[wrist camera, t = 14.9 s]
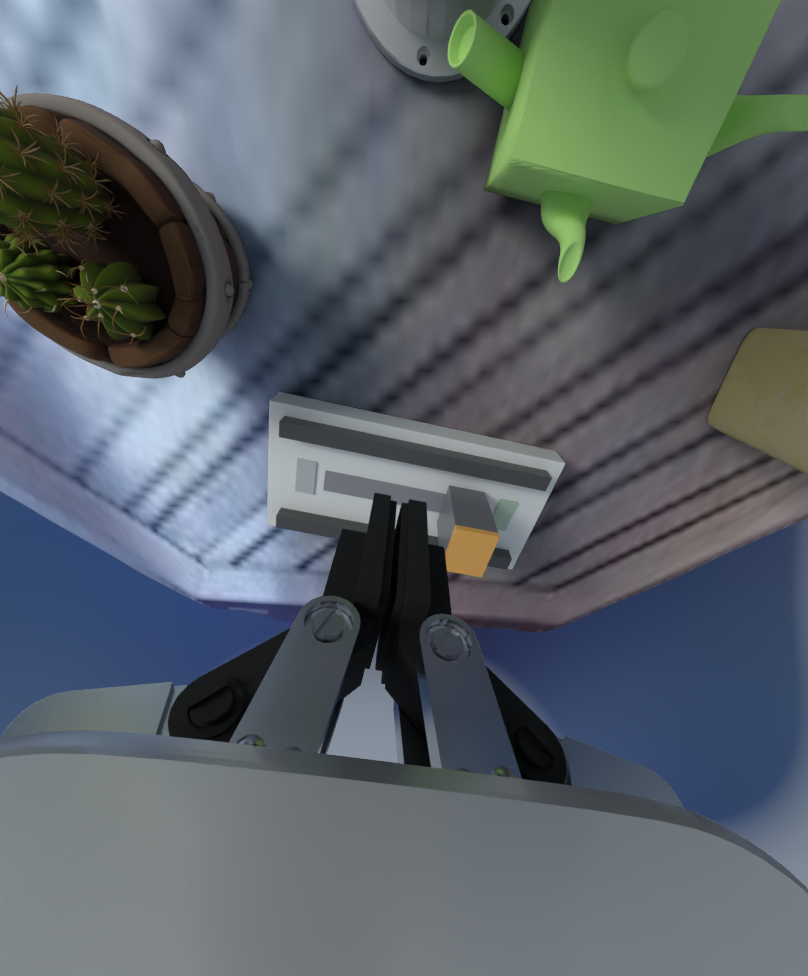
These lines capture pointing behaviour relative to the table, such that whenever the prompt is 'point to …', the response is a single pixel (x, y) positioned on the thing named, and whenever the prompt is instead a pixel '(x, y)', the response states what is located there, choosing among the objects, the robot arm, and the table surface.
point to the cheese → (768, 396)
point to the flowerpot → (112, 241)
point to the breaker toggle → (466, 531)
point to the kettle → (618, 103)
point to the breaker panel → (396, 471)
